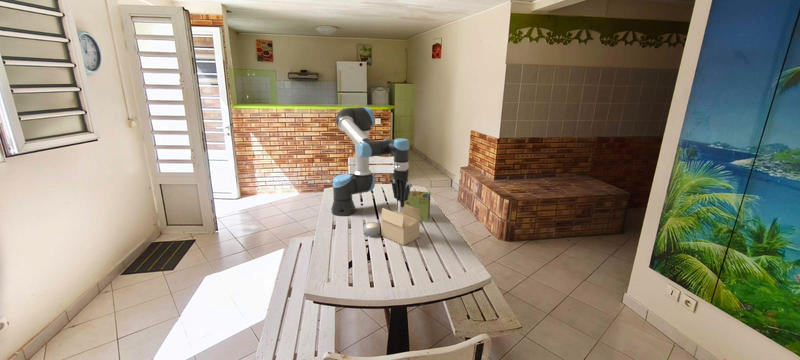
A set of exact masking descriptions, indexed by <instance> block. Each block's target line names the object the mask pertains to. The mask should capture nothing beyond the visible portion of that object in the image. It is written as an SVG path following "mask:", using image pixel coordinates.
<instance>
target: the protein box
mask: <svg viewBox="0 0 800 360" xmlns="http://www.w3.org/2000/svg"><path fill="white" fill-rule="evenodd" d="M404 204H405V205H408V206H411V207H414V208H417V209H419V214H420V219H417V218H415V219H417V220H420V222H423V221H425V222H426V223H428V222H429V219H430V215H431V192H430V191H419V190H418V191H417V190H410V191H409V196H408V200H406V201H404ZM404 215H406V214H404ZM407 216H409V215H407ZM409 217H412V216H409ZM412 218H414V217H412Z"/></svg>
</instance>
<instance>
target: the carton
mask: <svg viewBox="0 0 800 360" xmlns="http://www.w3.org/2000/svg"><path fill="white" fill-rule="evenodd" d="M396 213H398V211H397V212H396ZM398 214H400V215H403V216H404V221H403V227H400V226H397V225H395V224H392V223H390V222H387V221H385V220H382V219H381V218H380V219H381V220H380V221H381V224H380V235H381V237H383V238H385V239H388V240H390V241H392V242H394V243H396V244H399V245H401V246H406V245H408V244H410V243H411V242H413V241H416V240H417V239H419V238H420V227H421V226H420V225H421V223H420V222H421V221H420V220H417V219H415V218H412V217H409V216H407V215H404V214H403V213H398Z"/></svg>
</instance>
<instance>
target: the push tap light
mask: <svg viewBox="0 0 800 360" xmlns="http://www.w3.org/2000/svg"><path fill="white" fill-rule="evenodd" d="M379 235H381V224H380V223H379V222H375V221H369V222H366V223H364V224H363V236H365V237H368V236H370V237H368V238H376V237H379ZM375 236H376V237H375Z"/></svg>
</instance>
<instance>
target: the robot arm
mask: <svg viewBox="0 0 800 360" xmlns="http://www.w3.org/2000/svg"><path fill="white" fill-rule="evenodd" d="M375 121H376V117H375V113H374V112H373V110H372V108H370V107H363V106H362V107H361V106H359V107H345V108H342V109H341V110H340V111H338V113H337V115H336V117H335V124H336V126H337V128H338V129H339V130H340V131H341V132H344V133H345V134H346V135H347V137H348V138H349V139H350V140H351V141H352V142H353V143H354V156H355V159H354V163H355V164H354V165H355V170H354V171H353V172H352V175H351V174H349V173H343V174H337V175H336V176H335V177H334V178H333V179H332V190H333V191H332V194H333V200H332V201H333V202H332V206H331V209H330V210H331V214H333V215H335V216H339V217H341V216H345V217H346V216H350V215H353V214H355V213H356V206H355V203H354V200H353V195H357V194H358V195H359V194H364V193H369V192H371V191H373V190H374V189H375V186H376V178H375V175H374V174H373V173H372V171H371V170H370V158H373V157H380V156H387V155H388V156H389V155H391V156H393V169H394V170H393V176H394V178H393V179H390V183H391V187H392V193H393V198H394V199H396V201H397V203H396V205H397V212H398V213H401V212H403V207H404V201H406V200H408V196H409V191H411V188H412V187H413V185H412V184H411V183H409V180H408V177H409V167H410V165H409V163H410V161H409V160H410V141H409V139H407V138H403V137H402V138H398V137H397V138H395V139H392V138H384V139H383V140H376V141H372V140H371V139H370V138H369V137H370V135H369V134H370V132H371V131H372V127H373V126H375V124H376V122H375ZM401 214H402V213H401Z"/></svg>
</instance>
